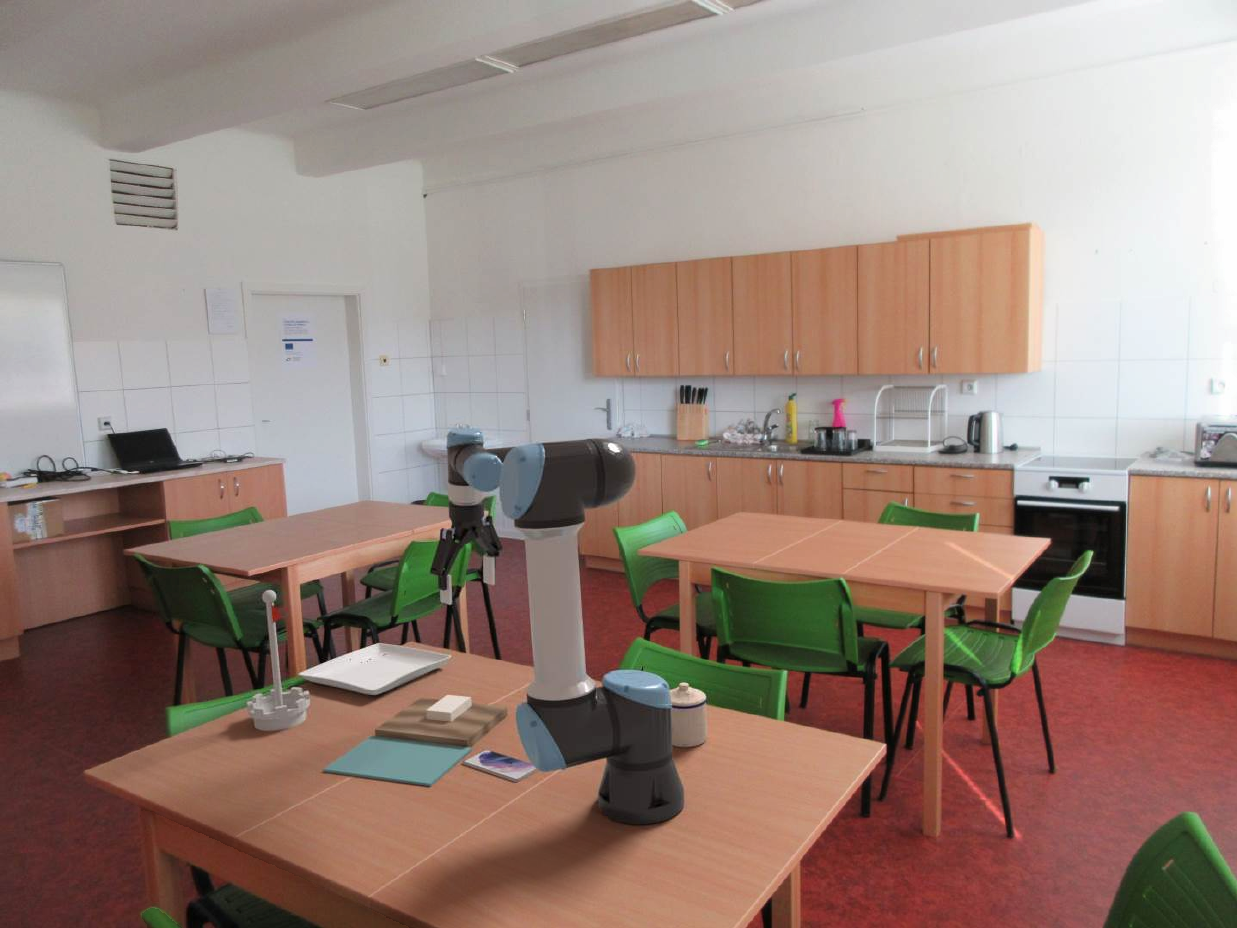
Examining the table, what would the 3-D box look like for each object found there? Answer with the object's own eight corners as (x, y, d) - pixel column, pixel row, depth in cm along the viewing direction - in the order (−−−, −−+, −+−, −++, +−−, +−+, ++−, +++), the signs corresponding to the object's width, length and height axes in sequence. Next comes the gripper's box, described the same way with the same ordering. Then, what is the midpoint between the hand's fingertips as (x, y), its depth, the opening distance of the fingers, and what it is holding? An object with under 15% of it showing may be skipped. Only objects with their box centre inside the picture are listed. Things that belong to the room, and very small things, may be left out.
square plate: (454, 668, 237) (453, 653, 236) (374, 705, 214) (373, 689, 213) (379, 653, 251) (378, 639, 251) (297, 686, 228) (295, 671, 228)
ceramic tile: (451, 721, 196) (450, 712, 196) (426, 718, 198) (426, 710, 198) (471, 705, 205) (471, 697, 204) (447, 703, 207) (447, 694, 206)
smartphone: (486, 748, 186) (542, 766, 177) (486, 752, 186) (542, 770, 177) (460, 761, 180) (516, 780, 171) (460, 765, 180) (517, 784, 171)
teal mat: (430, 786, 171) (430, 783, 171) (323, 771, 180) (323, 769, 179) (472, 749, 186) (472, 747, 186) (371, 737, 194) (371, 735, 194)
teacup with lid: (715, 734, 189) (714, 680, 187) (694, 752, 181) (692, 695, 180) (665, 723, 195) (663, 670, 194) (642, 740, 188) (640, 685, 186)
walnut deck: (467, 749, 187) (467, 740, 186) (375, 738, 194) (374, 729, 194) (507, 715, 203) (507, 706, 203) (421, 706, 211) (420, 697, 211)
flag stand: (238, 723, 206) (225, 592, 202) (293, 704, 215) (281, 579, 211) (266, 737, 197) (253, 601, 193) (322, 718, 206) (310, 588, 203)
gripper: (492, 484, 209) (493, 572, 214) (410, 511, 189) (414, 606, 194) (517, 490, 205) (518, 579, 210) (436, 518, 185) (439, 615, 190)
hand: (468, 592), depth 202 cm, fingers open, 13 cm apart
